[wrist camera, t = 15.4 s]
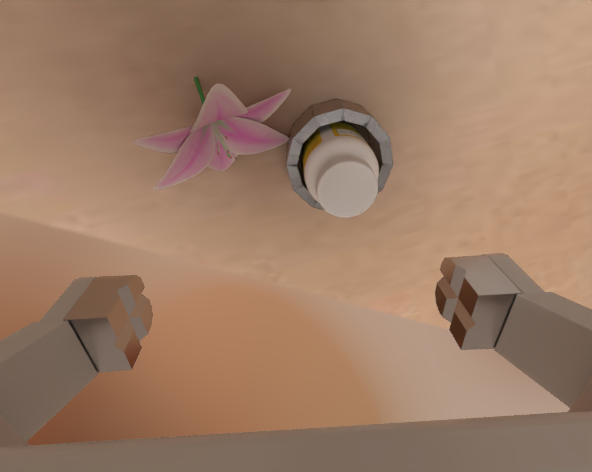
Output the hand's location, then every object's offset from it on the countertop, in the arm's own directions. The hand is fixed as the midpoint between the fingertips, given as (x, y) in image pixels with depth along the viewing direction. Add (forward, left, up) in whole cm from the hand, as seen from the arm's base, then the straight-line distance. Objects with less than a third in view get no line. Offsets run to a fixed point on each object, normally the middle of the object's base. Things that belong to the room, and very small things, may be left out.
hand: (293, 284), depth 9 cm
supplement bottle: (+4, -2, -23) cm, 23 cm away
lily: (-5, -2, -23) cm, 23 cm away
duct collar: (+4, -2, -22) cm, 23 cm away
